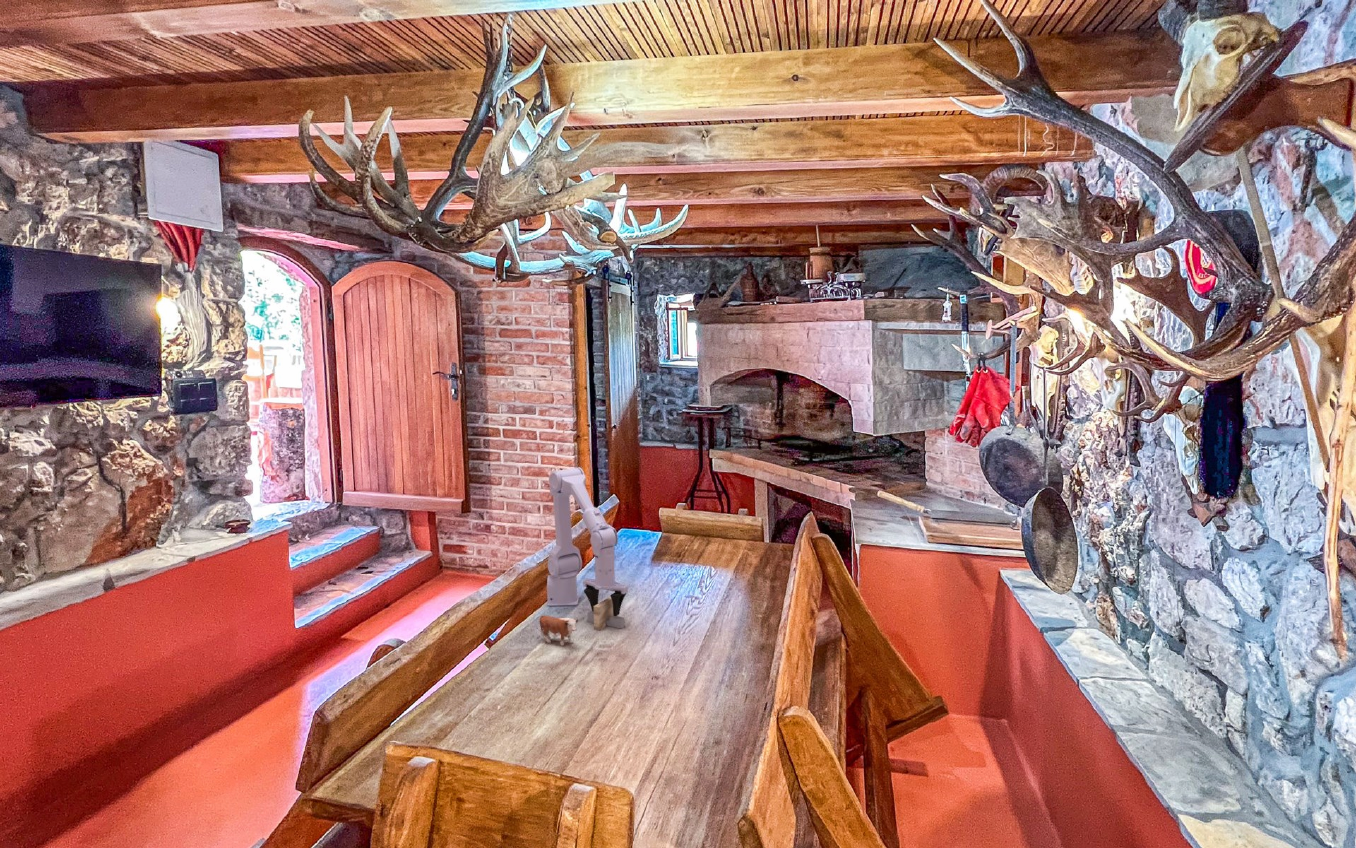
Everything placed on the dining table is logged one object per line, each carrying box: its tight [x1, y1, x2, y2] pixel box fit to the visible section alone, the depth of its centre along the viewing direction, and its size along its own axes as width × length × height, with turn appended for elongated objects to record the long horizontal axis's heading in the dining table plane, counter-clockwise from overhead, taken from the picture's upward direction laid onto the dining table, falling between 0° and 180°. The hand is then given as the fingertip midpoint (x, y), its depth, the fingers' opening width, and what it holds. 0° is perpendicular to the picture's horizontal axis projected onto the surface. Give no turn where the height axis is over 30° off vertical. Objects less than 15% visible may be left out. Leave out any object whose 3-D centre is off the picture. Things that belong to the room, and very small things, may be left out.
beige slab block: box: [593, 595, 619, 631], centre depth 224 cm, size 10×2×7 cm, turn 152°
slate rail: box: [586, 610, 626, 629], centre depth 224 cm, size 12×2×3 cm, turn 62°
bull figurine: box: [539, 614, 579, 647], centre depth 211 cm, size 4×13×8 cm, turn 58°
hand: (605, 612), depth 224 cm, fingers open, 7 cm apart
